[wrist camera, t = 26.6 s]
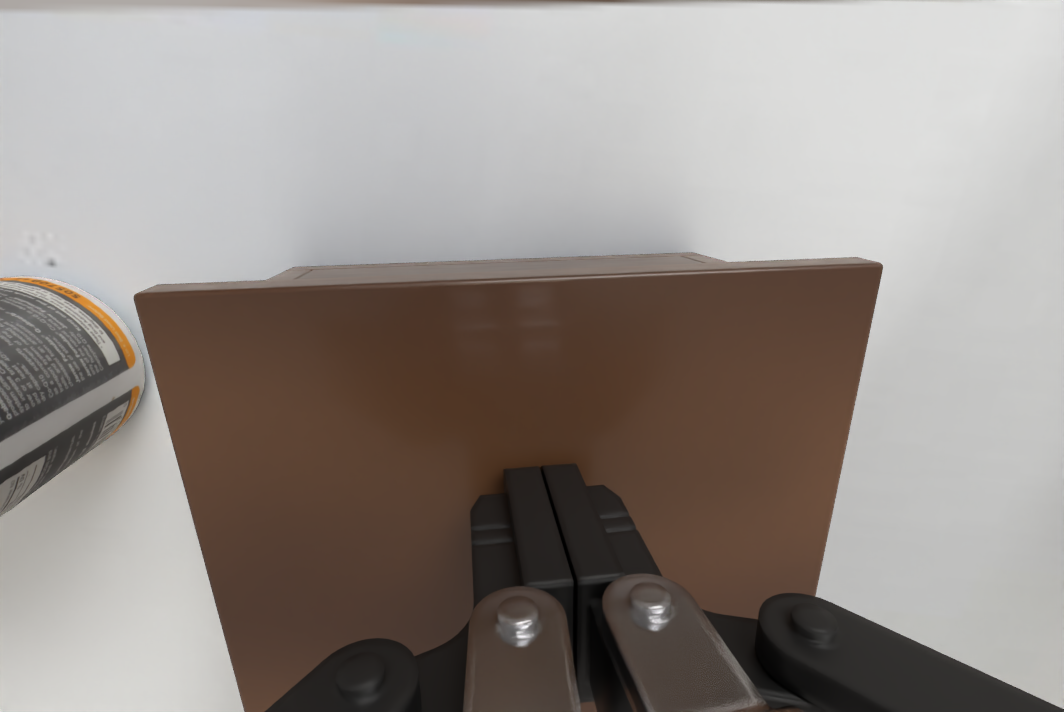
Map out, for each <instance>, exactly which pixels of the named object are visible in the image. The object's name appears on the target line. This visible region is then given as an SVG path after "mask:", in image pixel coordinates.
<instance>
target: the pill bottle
mask: <svg viewBox="0 0 1064 712" xmlns="http://www.w3.org/2000/svg"><path fill="white" fill-rule="evenodd" d="M144 384H145V368H144V362H143V356H142V354H141V351H140V349H139V347H138V345H137V342H136V339H135V338H134V336H133V335H132V334H131V332H130V330H129V328H128V327H127V326H126V324H125V323H124V322H123V321H122V320H121V318H120V317H119V316H118V315H117V314H116V313H115V312H114V311H113V310H112V309H111V308H109V307H108V306H107V305H106V304H105V303H103V302H102V301H101V300H99V299H97V298H96V297H94V296H92V295H91V294H89V293H87V292H85V291H83V290H81V289H79V288H77V287H75V286H72V285H70V284H68V283H65V282H62V281H58V280H53V279H47V278H42V277H34V276H14V277H4V278H0V517H1V516H2V515H3V514H5V513H6V512H8V511H10V510H11V509H12V508H14V507H15V506H16V505H17V504H19V503H20V502H21V501H22V500H24V499H25V498H27V497H28V496H29V495H30V494H32V493H33V492H34V491H36V490H37V489H38V488H40V487H41V486H43V485H44V484H45V483H47V482H48V481H49V480H51V479H52V478H53V477H55V476H56V475H58V474H59V473H60V472H61V471H63V470H64V469H66V468H67V467H68V466H70V465H71V464H73V463H74V462H75V461H77V460H78V459H80V458H81V457H83V456H84V455H85V454H87V453H88V452H89V451H91V450H92V449H94V448H95V447H97V446H98V445H100V444H101V443H102V442H103V441H104V440H106V439H107V438H109V437H110V436H111V435H113V434H114V433H115V432H116V431H117V430H118V429H119V428H121V427H122V426H123V425H124V424H125V423H126V422H127V420H128V419H129V418H130V417H131V416H132V414H133V413H134V411H135V409H136V408H137V406H138V404H139V401H140V398H141V396H142V393H143V390H144Z"/></svg>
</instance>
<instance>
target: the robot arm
mask: <svg viewBox="0 0 1064 712" xmlns="http://www.w3.org/2000/svg"><path fill="white" fill-rule="evenodd" d="M470 521H471V545H472V570H473V595H474V606H473V611H472V614H471V616H470V619H469V621H468V622H467V624H466V625H465V627H464V628H463V629H462V630H461V631H460V632H459V633H458V634H457V635H456V636H455V637H453V638H452V639H451V640H449V641H447V642H446V643H444V644H442V645H440V646H438V647H436V648H434V649H431V650H429V651H426V652H424V653H421V654H419V655H416V656H414V655H413V653H412V652H411V651H410V650H409V649H408V648H407V647H406V646H404V645H403V644H401V643H399V642H397V641H394V640H390V639H384V638H372V639H365V640H360V641H357V642H354V643H351V644H348V645H346V646H344V647H342V648H340V649H338V650H337V651H335V652H333V653H332V654H331V655H329V656H328V657H327V658H326V659H324V660H323V661H322V662H321V663H320V664H319V665H317V666H316V667H315V668H314V669H313V670H312V671H311V672H309V673H308V674H307V675H306V676H305V677H304V678H303V679H301V680H300V681H299V682H298V683H297V684H296V685H295V686H293V687H292V688H291V689H290V690H289V691H288V692H287V693H285V694H284V695H283V696H282V697H281V698H280V699H279V700H277V701H276V702H275V703H274V704H273V705H272V706H271V707H269V708H268V709H267V710H266V711H265V712H581V707H580V703H585V702H592V701H594V702H595V705H596V709H597V712H1064V709H1062V708H1059V707H1057V706H1055V705H1053V704H1051V703H1049V702H1046V701H1044V700H1042V699H1040V698H1038V697H1036V696H1033V695H1031V694H1029V693H1027V692H1025V691H1022V690H1020V689H1018V688H1016V687H1014V686H1012V685H1009V684H1007V683H1005V682H1003V681H1001V680H998V679H996V678H994V677H992V676H990V675H988V674H985V673H983V672H981V671H979V670H977V669H975V668H972V667H970V666H968V665H966V664H964V663H961V662H959V661H957V660H955V659H953V658H951V657H948V656H946V655H944V654H942V653H940V652H937V651H935V650H933V649H931V648H929V647H927V646H924V645H922V644H920V643H918V642H916V641H914V640H911V639H909V638H907V637H905V636H903V635H900V634H898V633H896V632H894V631H892V630H890V629H887V628H885V627H883V626H881V625H879V624H876V623H874V622H872V621H870V620H868V619H866V618H863V617H861V616H859V615H857V614H855V613H853V612H850V611H848V610H846V609H844V608H842V607H839V606H837V605H835V604H833V603H831V602H828V601H826V600H824V599H821V598H818V597H815V596H812V595H807V594H802V593H782V594H777V595H774V596H771V597H770V598H768V599H766V600H765V601H764V602H763V603H762V605H761V607H760V609H759V614H758V619H752V618H745V617H738V616H731V615H724V614H718V613H713V612H710V611H706V610H703V609H701V608H700V606H699V605H698V604H697V602H696V601H695V599H694V598H693V597H692V595H691V594H690V593H689V592H688V591H687V590H686V589H685V588H684V587H682V586H681V585H679V584H678V583H676V582H674V581H672V580H670V579H668V578H665V577H663V576H662V574H661V572H660V570H659V568H658V566H657V565H656V563H655V561H654V559H653V557H652V555H651V553H650V552H649V550H648V548H647V546H646V544H645V542H644V540H643V538H642V537H641V535H640V533H639V531H638V530H636V525H635V523H634V522H633V520H632V518H631V516H629V512H628V510H627V508H626V507H625V505H624V503H623V501H622V499H621V497H619V496H618V495H617V494H615V493H614V492H613V491H611V490H610V489H609V488H607V487H606V486H605V485H593V486H586V484H585V482H584V479H583V477H582V475H581V473H580V470H579V468H578V466H577V464H576V463H569V464H556V465H543V466H541V467H540V468H539V466H532V467H520V468H507V469H504V493H501V494H489V495H480V496H479V498H478V499H477V501H476V502H475V504H474V505H473V507H472V508H471V510H470Z"/></svg>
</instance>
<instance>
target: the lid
mask: <svg viewBox="0 0 1064 712" xmlns="http://www.w3.org/2000/svg"><path fill="white" fill-rule="evenodd" d="M882 270H883V265H882V264H881V263H878V262H875V261H870V260H866V259H862V258H858V257H849V258H824V259H798V260H773V261H747V262H722V263H696V264H671V265H645V266H620V267H594V268H569V269H543V270H518V271H492V272H467V273H441V274H416V275H390V276H365V277H339V278H314V279H288V280H263V281H237V282H212V283H186V284H161V285H156V286H153V287H151V288H148V289H146V290H144V291H141V292H139V293H137V294H135V295H134V302H135V305H136V309H137V313H138V317H139V320H140V324H141V328H142V331H143V335H144V339H145V343H146V346H147V350H148V354H149V357H150V361H151V365H152V369H153V372H154V376H155V380H156V384H157V387H158V391H159V395H160V398H161V402H162V406H163V410H164V413H165V417H166V421H167V424H168V428H169V432H170V436H171V439H172V443H173V447H174V451H175V454H176V458H177V462H178V465H179V469H180V473H181V477H182V480H183V484H184V488H185V491H186V495H187V499H188V503H189V506H190V510H191V514H192V517H193V521H194V525H195V529H196V532H197V536H198V540H199V544H200V547H201V551H202V555H203V558H204V562H205V566H206V570H207V573H208V577H209V581H210V584H211V588H212V592H213V596H214V599H215V603H216V607H217V611H218V614H219V618H220V622H221V625H222V629H223V633H224V637H225V640H226V644H227V648H228V651H229V655H230V659H231V663H232V666H233V670H234V674H235V677H236V681H237V685H238V689H239V692H240V696H241V700H242V704H243V707H244V711H245V712H265V711H266V710H267V709H268V708H269V707H271V706H272V705H273V704H274V703H275V702H276V701H277V700H279V699H280V698H281V697H282V696H283V695H284V694H285V693H287V692H288V691H289V690H290V689H291V688H292V687H293V686H295V685H296V684H297V683H298V682H299V681H300V680H301V679H303V678H304V677H305V676H306V675H307V674H308V673H309V672H311V671H312V670H313V669H314V668H315V667H316V666H317V665H319V664H320V663H321V662H322V661H323V660H324V659H326V658H327V657H328V656H329V655H331V654H332V653H333V652H335V651H337V650H338V649H340V648H342V647H344V646H346V645H348V644H351V643H354V642H357V641H360V640H365V639H372V638H384V639H390V640H394V641H397V642H399V643H401V644H403V645H404V646H406V647H407V648H408V649H409V650H410V651H411V652H412V653H413V655H414V656H416V655H419V654H421V653H424V652H426V651H429V650H431V649H434V648H436V647H438V646H440V645H442V644H444V643H446V642H447V641H449V640H451V639H452V638H453V637H455V636H456V635H457V634H458V633H459V632H460V631H461V630H462V629H463V628H464V627H465V625H466V624H467V622H468V621H469V619H470V616H471V614H472V611H473V606H474V595H473V570H472V545H471V521H470V510H471V508H472V507H473V505H474V504H475V502H476V501H477V499H478V498H479V496H480V495H489V494H501V493H504V469H507V468H520V467H532V466H539V468H540V467H541V466H543V465H556V464H569V463H576V464H577V466H578V468H579V470H580V473H581V475H582V477H583V479H584V482H585V484H586V486H593V485H605V486H606V487H607V488H609V489H610V490H611V491H613V492H614V493H615V494H617V495H618V496H619V497H621V499H622V501H623V503H624V505H625V507H626V508H627V510H628V512H629V516H631V518H632V520H633V522H634V523H635V525H636V530H638V531H639V533H640V535H641V537H642V538H643V540H644V542H645V544H646V546H647V548H648V550H649V552H650V553H651V555H652V557H653V559H654V561H655V563H656V565H657V566H658V568H659V570H660V572H661V574H662V576H663V577H665V578H668V579H670V580H672V581H674V582H676V583H678V584H679V585H681V586H682V587H684V588H685V589H686V590H687V591H688V592H689V593H690V594H691V595H692V597H693V598H694V599H695V601H696V602H697V604H698V605H699V606H700V608H701V609H703V610H706V611H710V612H713V613H718V614H724V615H731V616H738V617H745V618H752V619H758V614H759V609H760V607H761V605H762V603H763V602H764V601H765V600H766V599H768V598H770V597H771V596H774V595H777V594H782V593H802V594H807V595H812V596H815V595H816V590H817V585H818V580H819V576H820V571H821V566H822V561H823V556H824V551H825V546H826V542H827V537H828V532H829V527H830V522H831V517H832V512H833V508H834V503H835V498H836V493H837V488H838V483H839V478H840V474H841V469H842V464H843V459H844V454H845V449H846V444H847V440H848V435H849V430H850V425H851V420H852V415H853V410H854V406H855V401H856V396H857V391H858V386H859V381H860V376H861V372H862V367H863V362H864V357H865V352H866V347H867V342H868V338H869V333H870V328H871V323H872V318H873V313H874V308H875V304H876V299H877V294H878V289H879V284H880V279H881V274H882ZM580 707H581V712H597V709H596V705H595V702H594V701H592V702H585V703H580Z"/></svg>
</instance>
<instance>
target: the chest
mask: <svg viewBox="0 0 1064 712" xmlns="http://www.w3.org/2000/svg"><path fill="white" fill-rule="evenodd" d="M722 262H726V261H722V260H719V259H715V258H711V257H707V256H704V255H700V254H697V253H666V254H638V255H611V256H584V257H556V258H529V259H502V260H475V261H447V262H420V263H393V264H366V265H338V266H311V267H293V268H291V269H289V270H287V271H284V272H282V273H280V274H278V275H276V276H274V277H272V278H270V279H268V280H288V279H314V278H339V277H365V276H390V275H416V274H441V273H467V272H492V271H518V270H543V269H569V268H594V267H620V266H645V265H671V264H696V263H722Z"/></svg>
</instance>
